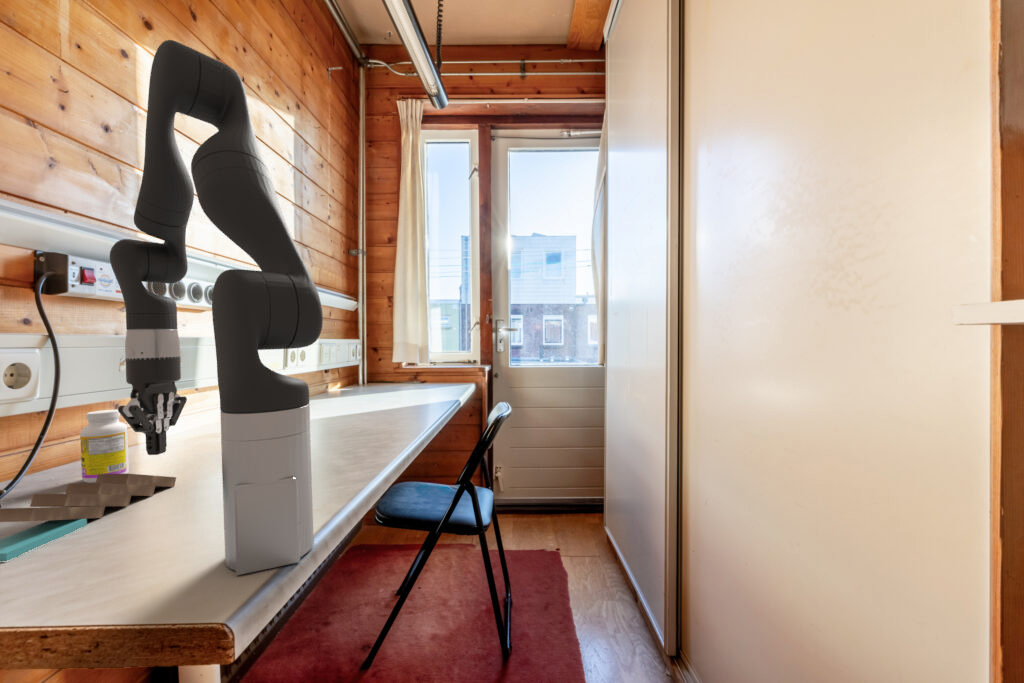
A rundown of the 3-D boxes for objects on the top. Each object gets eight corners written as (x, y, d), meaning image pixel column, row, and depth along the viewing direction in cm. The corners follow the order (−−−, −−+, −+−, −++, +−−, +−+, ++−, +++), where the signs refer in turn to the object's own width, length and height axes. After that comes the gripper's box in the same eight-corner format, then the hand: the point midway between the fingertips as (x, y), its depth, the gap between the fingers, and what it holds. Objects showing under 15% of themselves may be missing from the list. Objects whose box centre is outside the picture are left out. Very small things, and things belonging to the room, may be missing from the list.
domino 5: (174, 486, 79) (125, 484, 70) (146, 487, 79) (95, 484, 70) (176, 477, 80) (128, 473, 70) (149, 477, 80) (98, 474, 70)
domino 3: (128, 506, 70) (64, 506, 60) (98, 506, 70) (29, 506, 61) (131, 495, 70) (68, 493, 61) (101, 495, 70) (33, 494, 61)
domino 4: (153, 495, 74) (97, 494, 65) (124, 496, 75) (64, 494, 65) (155, 485, 75) (100, 482, 66) (127, 486, 75) (68, 483, 66)
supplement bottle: (91, 476, 87) (88, 410, 87) (134, 471, 90) (131, 407, 90) (75, 486, 81) (72, 415, 81) (121, 480, 84) (119, 412, 84)
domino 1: (102, 517, 65) (29, 521, 56) (69, 518, 66) (-9, 522, 56) (105, 506, 66) (33, 507, 56) (72, 506, 66) (-5, 508, 57)
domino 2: (87, 530, 62) (6, 566, 52) (51, 531, 62) (-37, 568, 52) (86, 518, 62) (6, 553, 52) (50, 519, 62) (-37, 554, 52)
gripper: (145, 356, 72) (148, 463, 72) (200, 353, 85) (203, 444, 85) (97, 357, 72) (101, 465, 72) (160, 354, 85) (163, 445, 85)
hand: (156, 453), depth 79 cm, fingers closed
